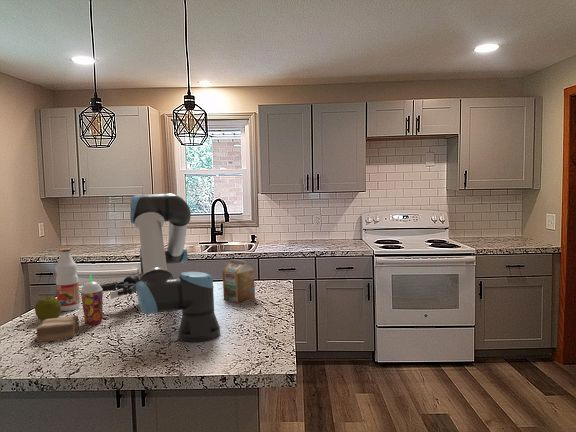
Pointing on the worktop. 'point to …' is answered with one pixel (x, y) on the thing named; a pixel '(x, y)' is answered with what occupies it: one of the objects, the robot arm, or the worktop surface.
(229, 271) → the milk carton
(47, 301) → the apple
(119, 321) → the worktop surface
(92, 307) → the smoothie
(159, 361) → the worktop surface
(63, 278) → the fruit juice
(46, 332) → the brown flat block
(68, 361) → the worktop surface
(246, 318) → the worktop surface
